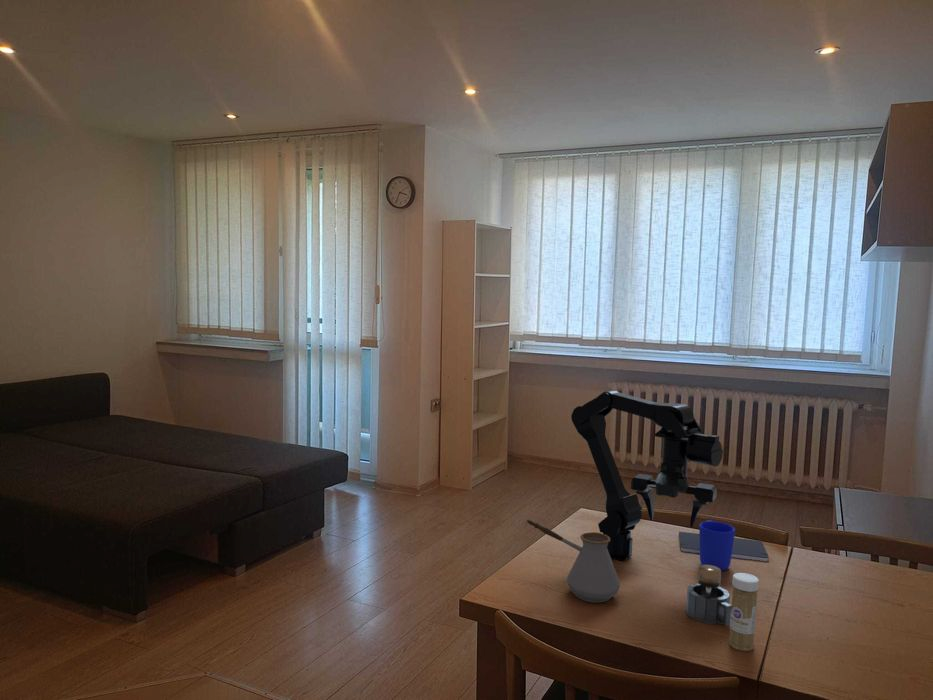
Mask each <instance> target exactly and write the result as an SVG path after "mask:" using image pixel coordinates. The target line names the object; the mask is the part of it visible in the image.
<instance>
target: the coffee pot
mask: <svg viewBox="0 0 933 700" xmlns="http://www.w3.org/2000/svg"><path fill="white" fill-rule="evenodd" d="M528 524H529V525H530V526H533V527H534V529H538V530H539V531H540V532H542V533H543V534H545V535H547V536H550V537H551V538H554V539H555V540H558V541H560V542H563V543H564V544H566V545H568V546H569V547H571V548H572V549H575V550H576V551H578V555H577V557H576V559H575V561H574V563H573V564H572V567H571V568H570V570H569V573H568V575H567V577H566V584H567V587H568V588H569V589H570V591H571V592H572V593H573V594H574V595H575V597H577V598H578V599H580V600H582V601H584V602H590V603H604V602H609V600H610V599H611V598H613V597H614V596H616V595H617V593H619V590H620V588H621V582H620V580H619V577H618V575H617V571H616V567H614V563H613V560H612V558H610V555H609V552H608V549H607V545H608V543H609V542H610V537H609V536H607V535H604V534H603V533H601V532H597V531H594V532H585V533H582V534H580V540H581V541H582V547H581V546H580V545H578V544H577V543H573V542H572V541H570V540H567V539H566V538H564V537H563V536H561V535H559V534H558V533H556V532H554V531H553V530H551V529H549V528H547V527H544V526H542V525H540V523H538V522H536V523H535V522H534V521H532V520H530V519H527V521H526V523H525V525H524V527H523V528H524V529H526V527H527V525H528Z"/></svg>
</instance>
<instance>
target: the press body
mask: <svg viewBox="0 0 933 700" xmlns="http://www.w3.org/2000/svg"><path fill="white" fill-rule="evenodd" d="M686 588H687V590H686V605H685V606H686V607H685V611H686V614H687V616H689V617H690V618H691V619H693V620H695V621H697V622H700V623H702V624H703V623H704V624H708V625H710V624H711V625H719V624H722V625H723V626H725V627H727V626H730V617H731V609H732V604H730V599H731V597H730V596H731V595H730V593H729V591H728V590H727V589H725V588H723V587H722V586H719V587H716V588H711V597H706V587H705V586H702V585H700V584H699V583H698V582H697V583H691V584H689V586H687V587H686Z"/></svg>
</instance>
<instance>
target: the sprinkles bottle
mask: <svg viewBox="0 0 933 700" xmlns="http://www.w3.org/2000/svg"><path fill="white" fill-rule="evenodd" d="M731 585H732V597H731V600H732V601H731V605H732V609H731V617H730V625H729V639H728V645H729V646H730V647H732V648H733V649H735V650H737V651H742V652H751V651H753V650H754V648H755V644H754V643H755V633H756V621H757V620H756V618H757V605H758V603H757V600H758V591H759V588H760V587H759V586H760V580H759V578H758V577H757V576H755V575H753V574H751V573H747V572H736V573H734V574H733V575H732V583H731Z"/></svg>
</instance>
